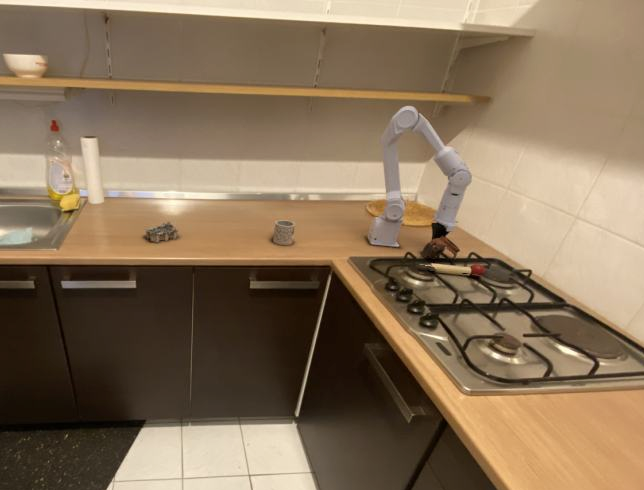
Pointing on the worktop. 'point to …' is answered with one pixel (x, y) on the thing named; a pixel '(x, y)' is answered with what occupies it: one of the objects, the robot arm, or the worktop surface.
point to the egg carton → (162, 232)
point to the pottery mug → (439, 247)
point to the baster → (459, 269)
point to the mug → (283, 232)
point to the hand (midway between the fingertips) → (435, 244)
